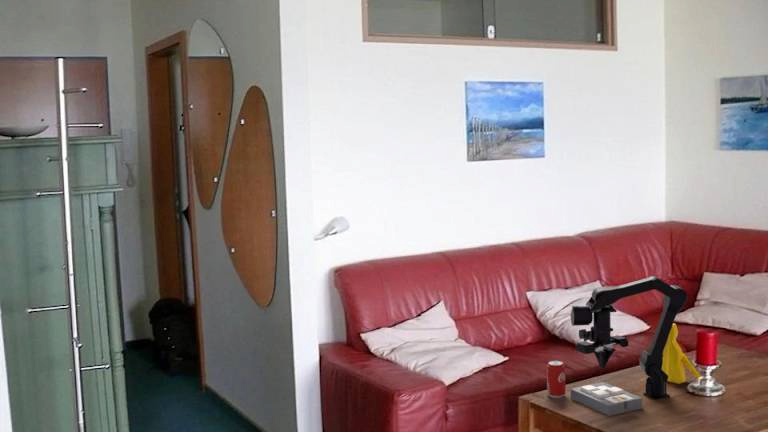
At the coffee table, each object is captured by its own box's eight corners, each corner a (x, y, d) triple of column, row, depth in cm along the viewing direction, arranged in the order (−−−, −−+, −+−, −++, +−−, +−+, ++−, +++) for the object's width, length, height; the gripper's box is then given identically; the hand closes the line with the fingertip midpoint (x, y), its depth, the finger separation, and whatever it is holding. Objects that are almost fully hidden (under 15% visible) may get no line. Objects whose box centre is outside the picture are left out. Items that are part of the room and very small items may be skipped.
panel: (603, 391, 295) (602, 381, 295) (642, 408, 277) (642, 397, 277) (570, 398, 289) (570, 387, 289) (608, 416, 271) (608, 404, 271)
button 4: (615, 393, 286) (615, 386, 286) (623, 396, 282) (623, 389, 282) (606, 395, 284) (606, 388, 284) (613, 399, 281) (613, 391, 280)
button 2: (601, 396, 283) (601, 389, 283) (609, 400, 280) (609, 392, 280) (592, 398, 282) (591, 391, 282) (599, 402, 278) (599, 394, 278)
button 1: (590, 391, 289) (590, 384, 289) (597, 395, 285) (597, 388, 285) (580, 393, 287) (580, 386, 287) (588, 397, 284) (588, 390, 283)
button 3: (604, 392, 291) (604, 385, 291) (611, 395, 288) (611, 388, 288) (594, 394, 290) (594, 387, 290) (602, 397, 286) (602, 390, 286)
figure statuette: (703, 384, 298) (703, 324, 295) (691, 389, 293) (691, 328, 290) (659, 374, 312) (658, 316, 309) (647, 379, 307) (646, 320, 304)
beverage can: (565, 399, 289) (564, 365, 288) (547, 398, 291) (546, 365, 289) (565, 393, 295) (564, 360, 294) (547, 392, 297) (546, 360, 295)
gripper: (608, 316, 297) (608, 358, 299) (565, 323, 289) (566, 367, 291) (629, 322, 287) (629, 366, 289) (585, 330, 279) (586, 375, 281)
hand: (602, 368), depth 288 cm, fingers closed
